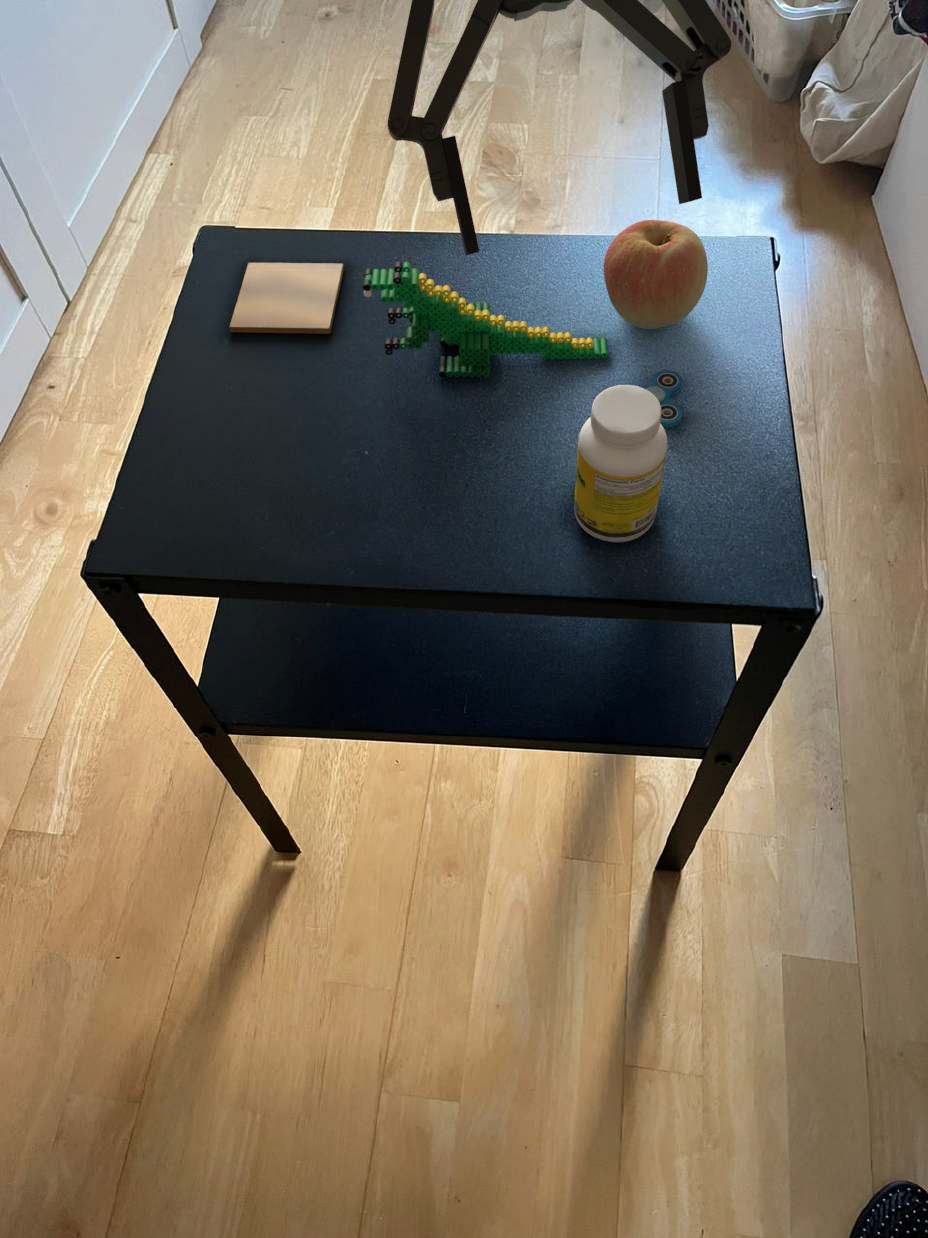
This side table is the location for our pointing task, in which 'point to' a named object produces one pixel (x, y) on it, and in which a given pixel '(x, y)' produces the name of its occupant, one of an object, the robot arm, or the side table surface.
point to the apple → (655, 273)
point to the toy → (666, 396)
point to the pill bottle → (620, 464)
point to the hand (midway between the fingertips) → (581, 228)
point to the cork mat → (287, 298)
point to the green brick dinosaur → (466, 325)
